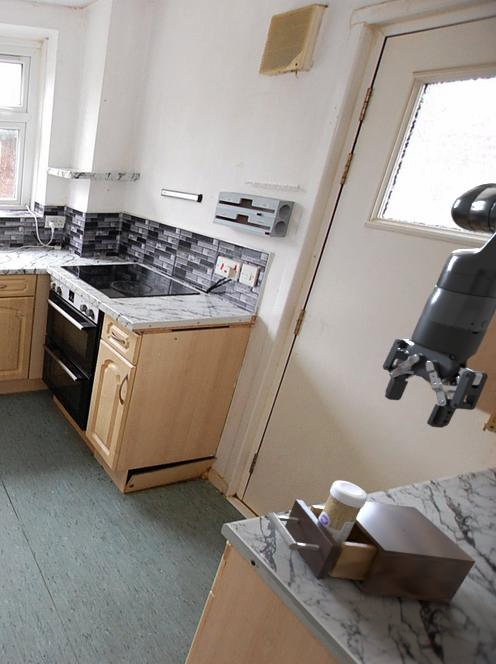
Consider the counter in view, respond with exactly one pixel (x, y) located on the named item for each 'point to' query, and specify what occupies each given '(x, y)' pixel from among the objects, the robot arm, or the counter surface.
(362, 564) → the drawer
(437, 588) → the cabinet
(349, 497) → the sprinkles bottle
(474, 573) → the counter surface
